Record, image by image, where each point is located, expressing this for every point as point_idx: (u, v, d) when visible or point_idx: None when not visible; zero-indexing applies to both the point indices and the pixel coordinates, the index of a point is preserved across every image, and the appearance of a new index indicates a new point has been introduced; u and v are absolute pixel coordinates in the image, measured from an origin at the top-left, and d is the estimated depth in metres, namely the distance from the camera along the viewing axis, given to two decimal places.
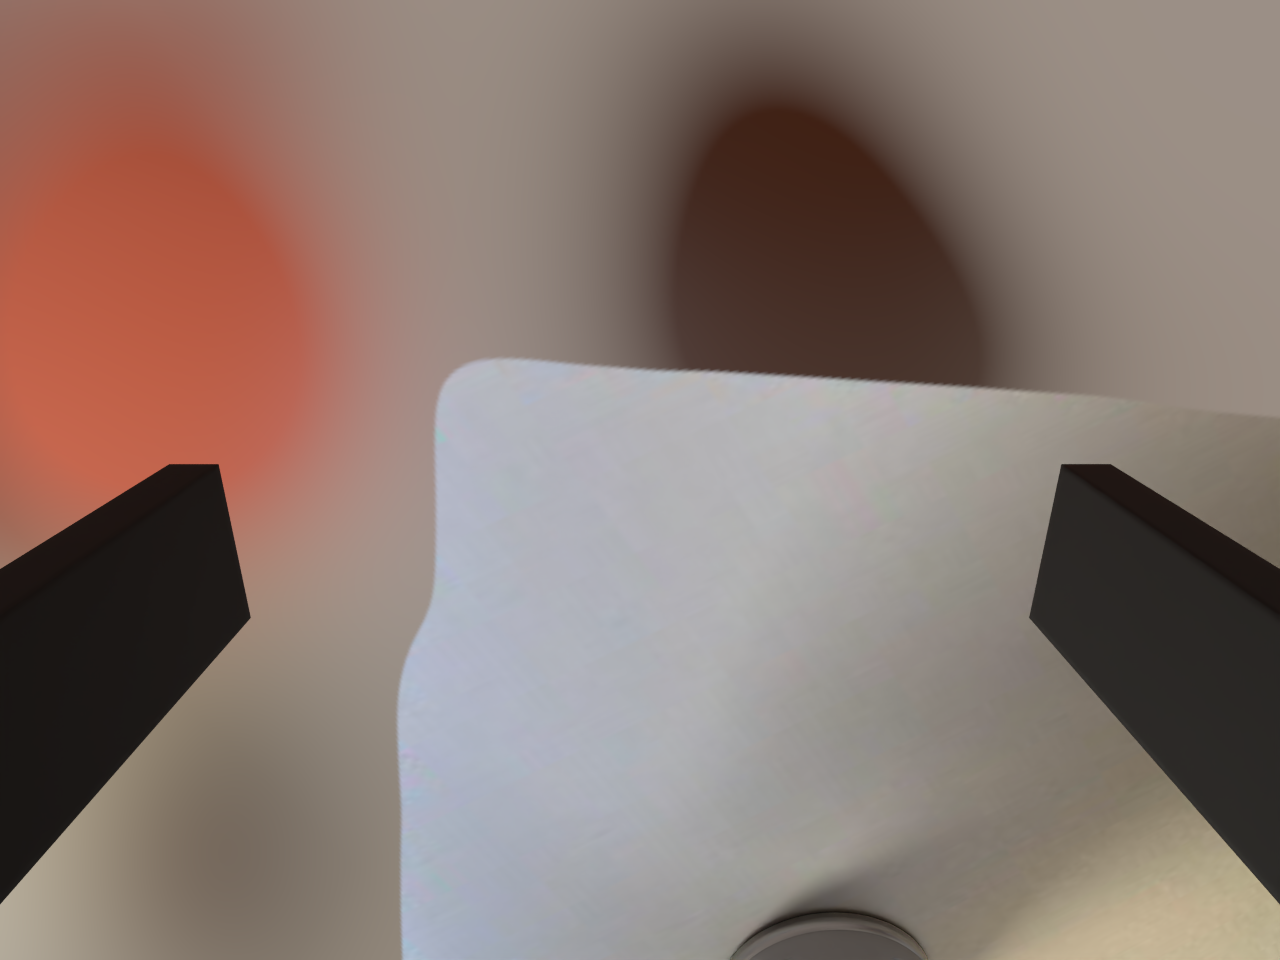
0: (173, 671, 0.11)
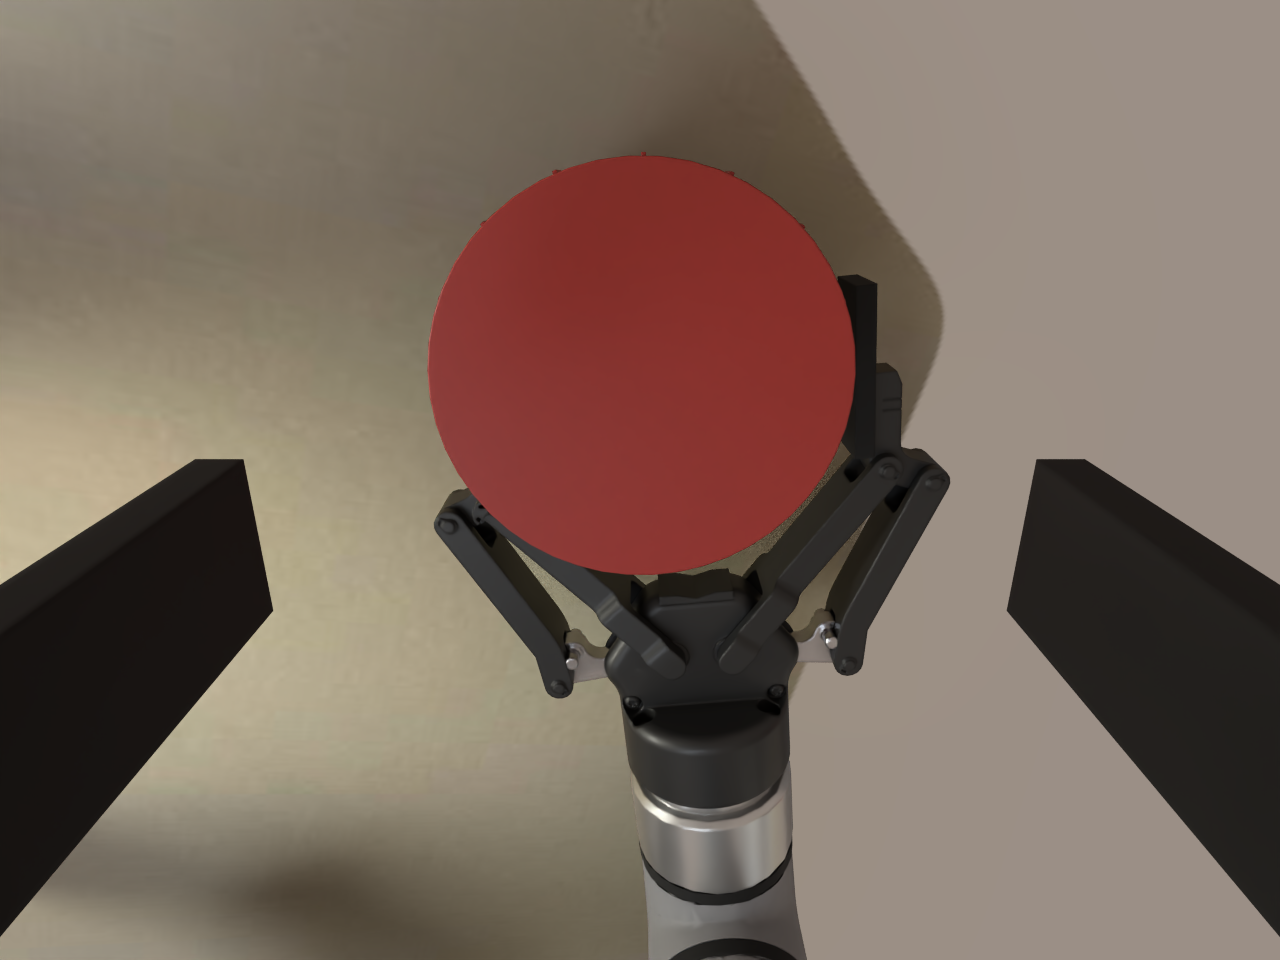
0: (201, 661, 0.11)
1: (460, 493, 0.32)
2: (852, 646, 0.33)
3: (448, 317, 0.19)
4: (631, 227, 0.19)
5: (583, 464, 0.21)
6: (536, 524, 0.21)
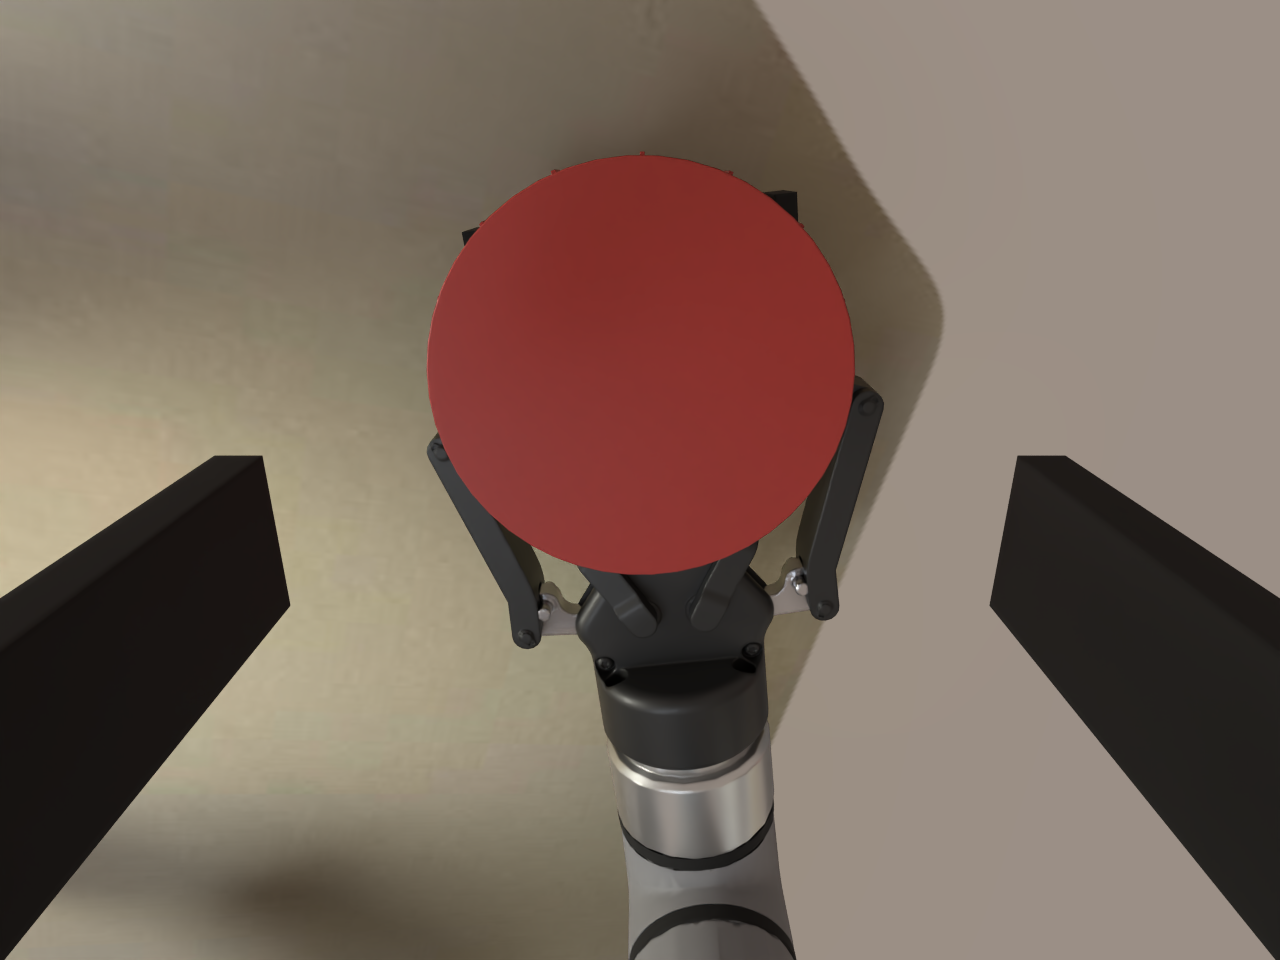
0: (223, 655, 0.11)
1: None
2: (824, 589, 0.32)
3: (447, 317, 0.19)
4: (630, 227, 0.19)
5: (582, 464, 0.21)
6: (535, 524, 0.21)
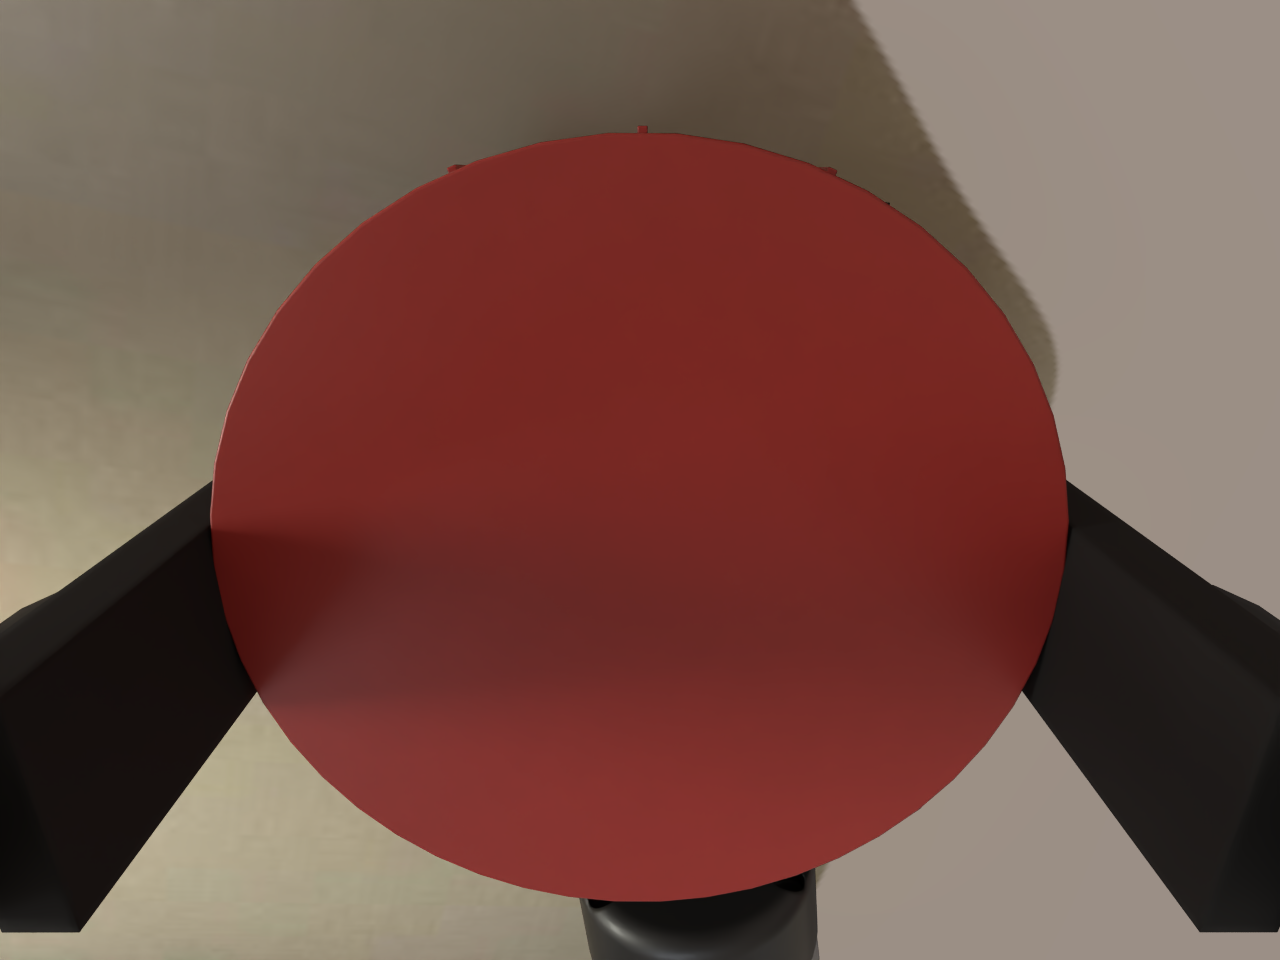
0: None
1: None
2: None
3: (244, 467, 0.09)
4: (617, 287, 0.09)
5: (529, 728, 0.11)
6: (445, 824, 0.12)
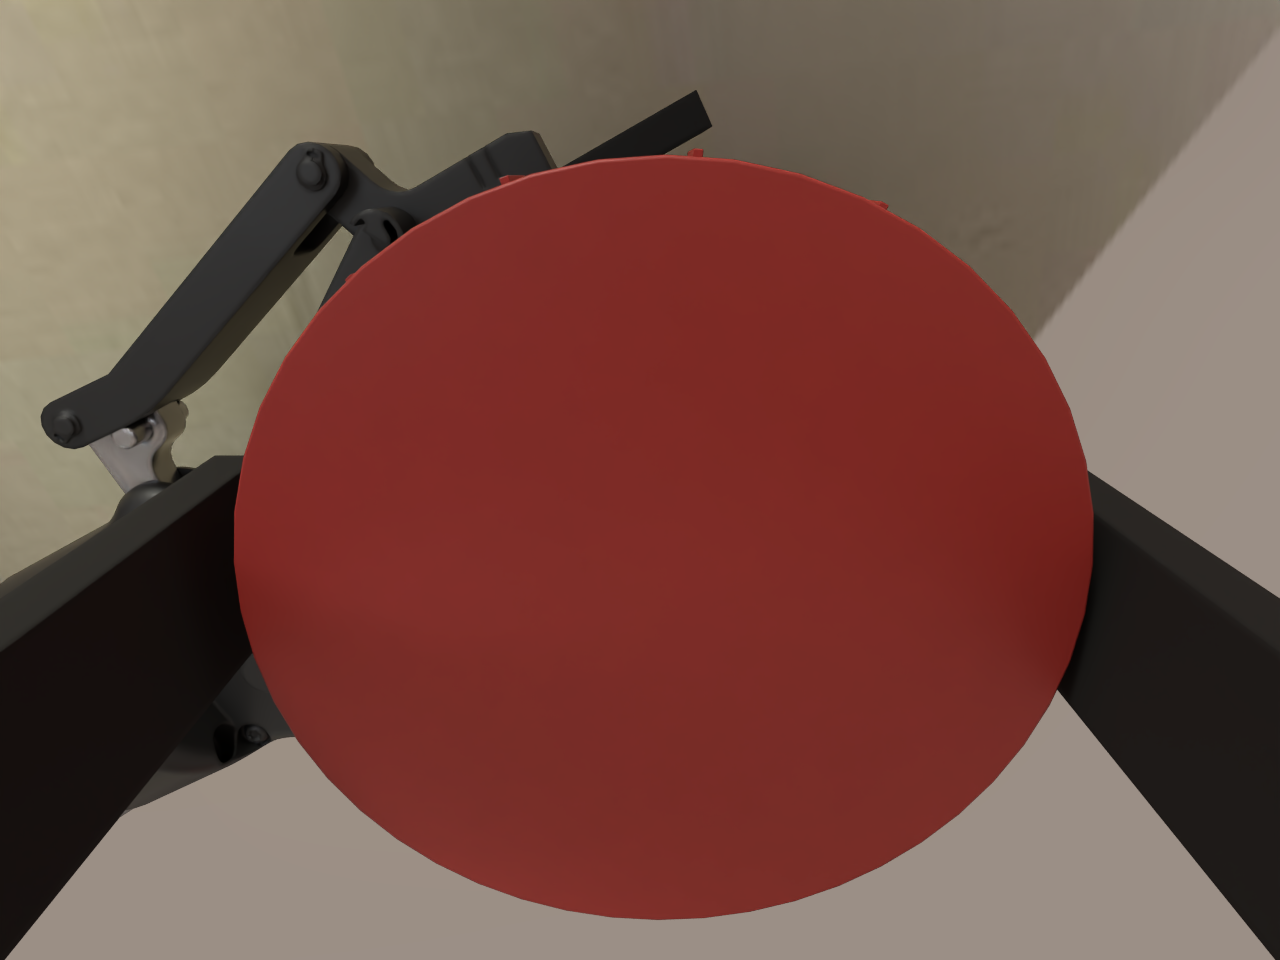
0: (223, 654, 0.11)
1: (371, 167, 0.18)
2: None
3: (266, 606, 0.10)
4: (530, 335, 0.09)
5: (605, 768, 0.11)
6: (562, 879, 0.12)
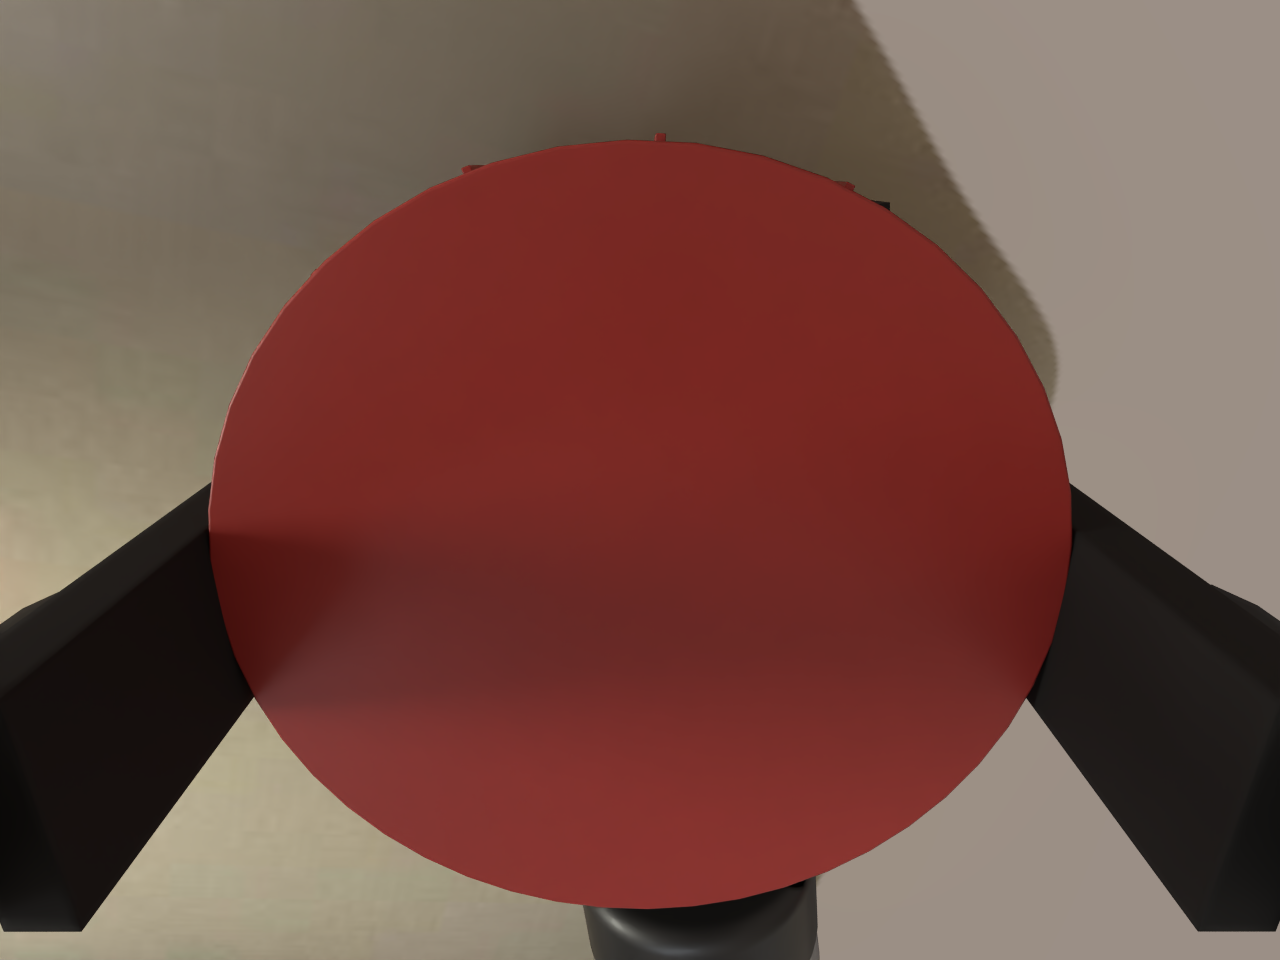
0: None
1: None
2: None
3: (512, 874, 0.12)
4: (339, 609, 0.10)
5: (791, 706, 0.11)
6: (904, 786, 0.11)
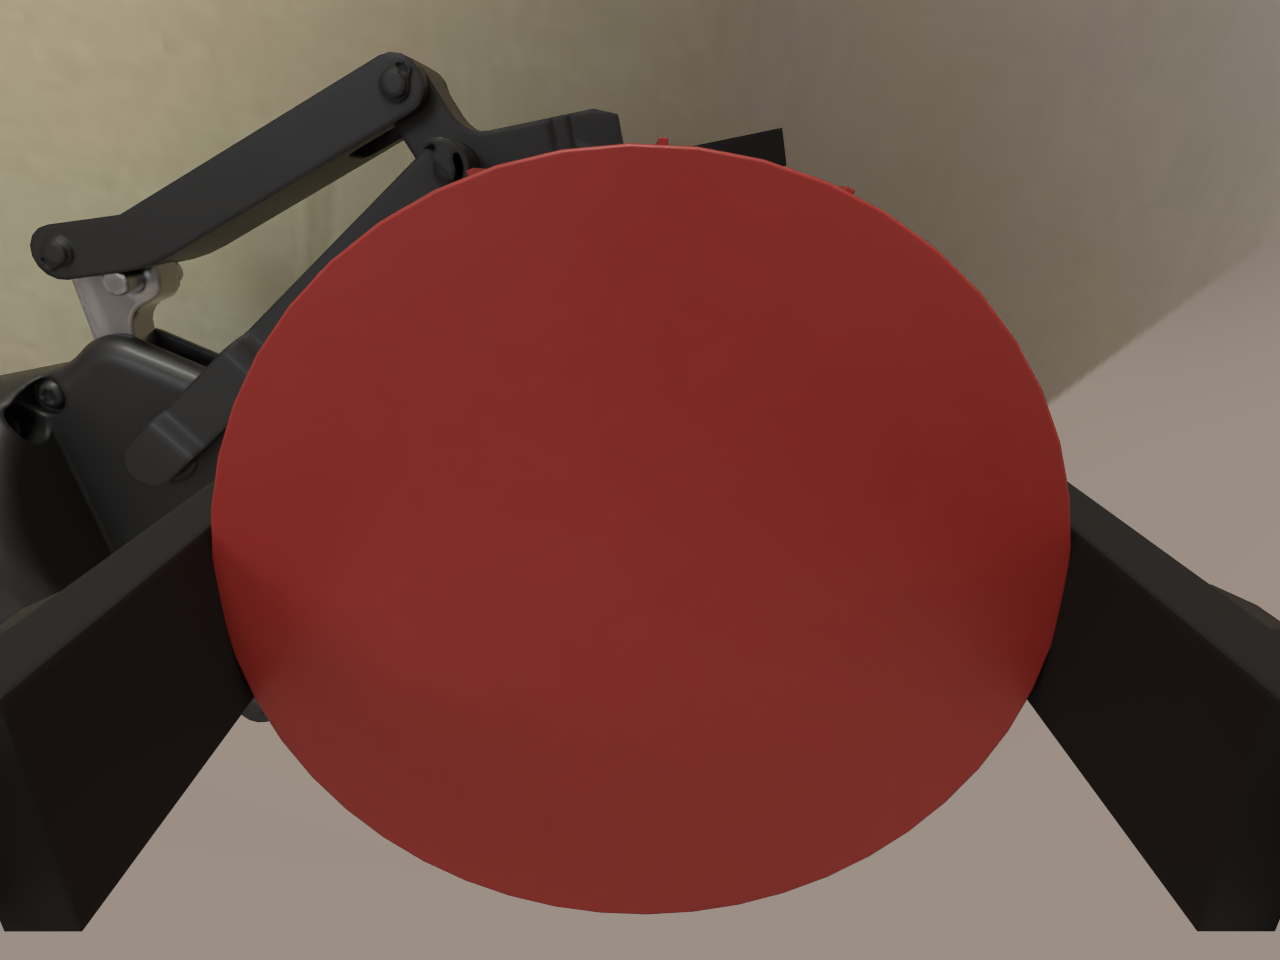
0: None
1: (448, 97, 0.18)
2: None
3: (511, 878, 0.12)
4: (340, 609, 0.10)
5: (791, 709, 0.11)
6: (904, 790, 0.11)
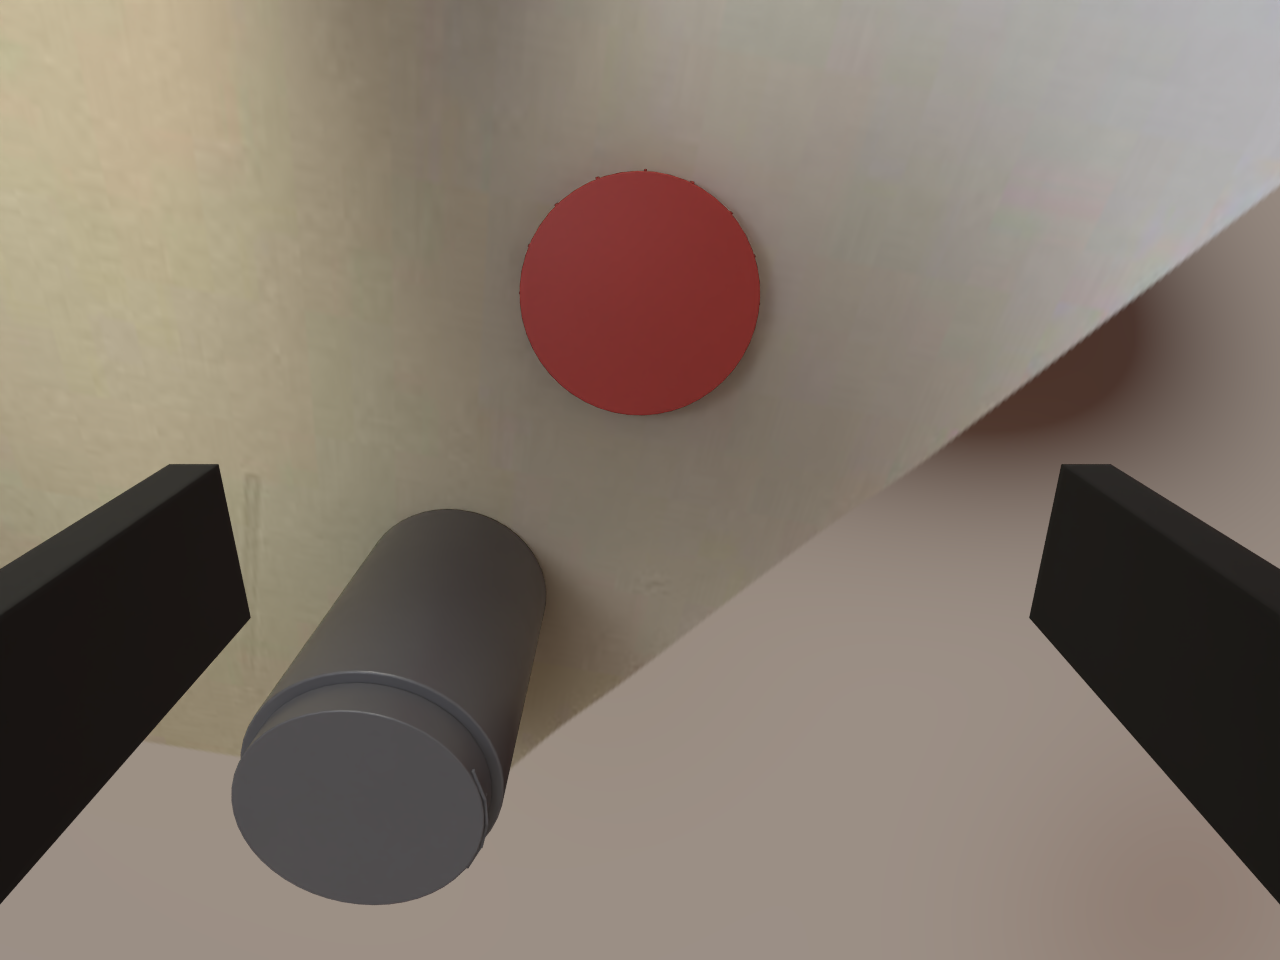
0: (173, 671, 0.11)
1: None
2: None
3: (599, 400, 0.37)
4: (554, 302, 0.36)
5: (684, 335, 0.36)
6: (720, 365, 0.37)
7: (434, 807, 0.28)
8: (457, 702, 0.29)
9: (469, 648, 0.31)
